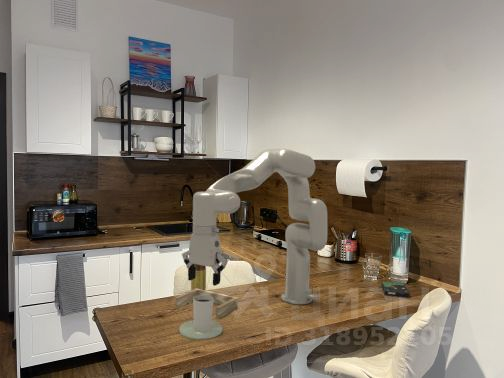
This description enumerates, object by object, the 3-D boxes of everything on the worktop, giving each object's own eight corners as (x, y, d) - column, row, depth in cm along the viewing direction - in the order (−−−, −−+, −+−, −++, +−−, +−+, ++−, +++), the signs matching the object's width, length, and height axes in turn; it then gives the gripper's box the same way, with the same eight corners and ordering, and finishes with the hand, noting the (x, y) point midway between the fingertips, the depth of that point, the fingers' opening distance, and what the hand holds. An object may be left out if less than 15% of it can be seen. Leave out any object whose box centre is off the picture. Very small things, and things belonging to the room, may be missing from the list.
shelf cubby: (237, 307, 153) (238, 297, 153) (218, 319, 142) (219, 308, 141) (196, 298, 162) (196, 288, 162) (175, 307, 151) (175, 297, 150)
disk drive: (409, 299, 173) (404, 288, 187) (410, 293, 173) (404, 282, 187) (384, 296, 175) (381, 286, 189) (384, 290, 175) (381, 280, 189)
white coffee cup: (207, 333, 127) (208, 303, 127) (188, 330, 129) (189, 300, 129) (216, 326, 134) (217, 296, 133) (197, 322, 136) (198, 293, 135)
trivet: (230, 327, 135) (230, 325, 134) (206, 343, 122) (206, 341, 122) (196, 318, 141) (196, 316, 141) (170, 332, 129) (170, 330, 129)
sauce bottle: (198, 289, 173) (200, 243, 172) (208, 292, 169) (210, 246, 168) (187, 292, 168) (188, 245, 167) (197, 296, 164) (198, 248, 163)
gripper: (233, 231, 129) (232, 283, 130) (190, 225, 137) (189, 274, 138) (220, 235, 122) (220, 289, 124) (175, 229, 130) (175, 280, 132)
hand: (203, 281), depth 131 cm, fingers open, 9 cm apart
